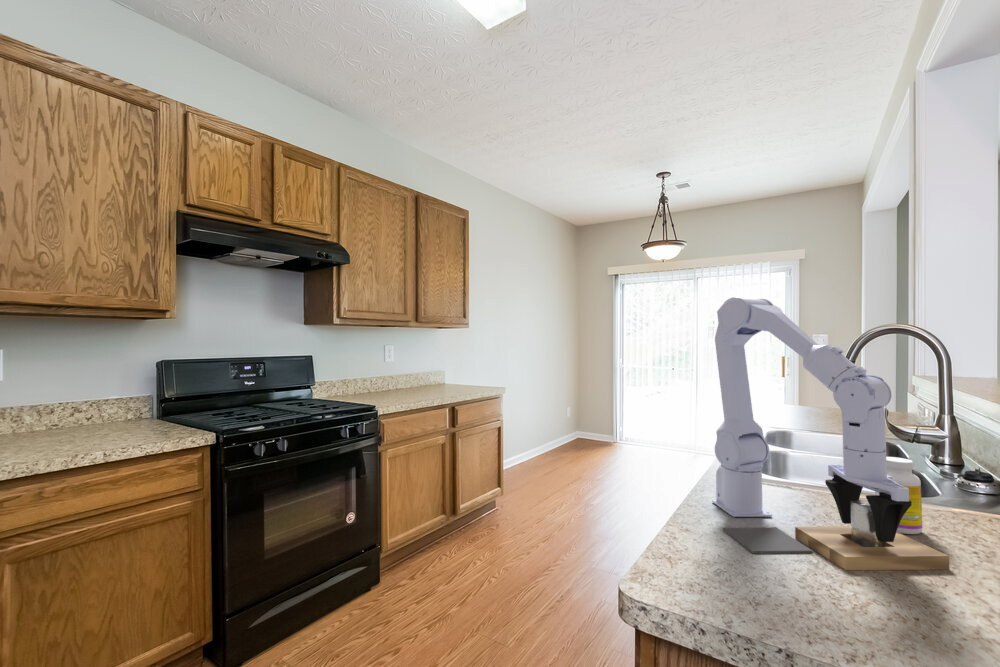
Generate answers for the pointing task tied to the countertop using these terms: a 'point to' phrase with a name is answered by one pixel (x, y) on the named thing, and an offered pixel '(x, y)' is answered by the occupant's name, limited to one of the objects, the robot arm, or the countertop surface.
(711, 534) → the countertop surface
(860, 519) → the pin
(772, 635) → the countertop surface
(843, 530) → the holder
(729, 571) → the countertop surface
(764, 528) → the mat
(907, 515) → the supplement bottle
